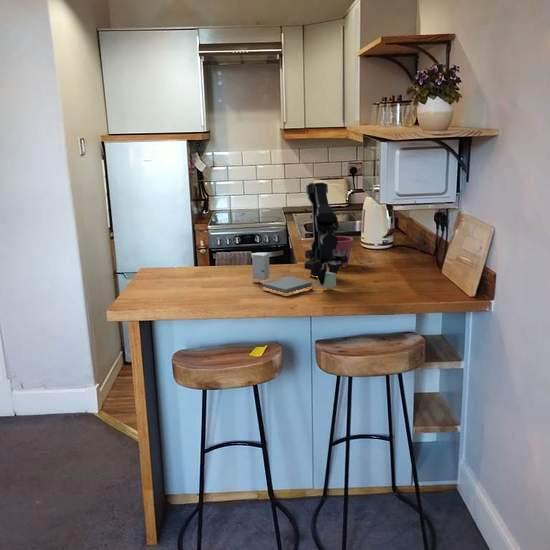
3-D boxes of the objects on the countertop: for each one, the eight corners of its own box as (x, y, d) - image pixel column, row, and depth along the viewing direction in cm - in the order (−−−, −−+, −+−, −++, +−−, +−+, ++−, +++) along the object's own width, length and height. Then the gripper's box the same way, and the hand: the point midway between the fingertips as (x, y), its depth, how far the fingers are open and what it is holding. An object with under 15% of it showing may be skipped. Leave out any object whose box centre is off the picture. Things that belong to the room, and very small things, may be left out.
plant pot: (352, 262, 269) (352, 235, 266) (353, 269, 256) (353, 241, 252) (322, 262, 271) (321, 236, 267) (321, 270, 257) (320, 241, 254)
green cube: (326, 283, 228) (326, 271, 227) (336, 285, 224) (335, 273, 223) (317, 286, 225) (317, 273, 224) (327, 288, 221) (326, 275, 220)
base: (288, 283, 237) (288, 276, 237) (312, 289, 227) (312, 282, 226) (262, 290, 228) (261, 283, 228) (286, 297, 218) (285, 289, 217)
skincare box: (252, 282, 240) (250, 254, 238) (258, 280, 244) (256, 252, 241) (265, 284, 237) (263, 255, 235) (270, 281, 241) (269, 253, 238)
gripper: (327, 238, 232) (328, 275, 236) (293, 245, 221) (295, 284, 225) (348, 241, 224) (348, 280, 228) (314, 249, 212) (315, 289, 216)
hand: (326, 283), depth 225 cm, fingers closed on green cube, 5 cm apart
